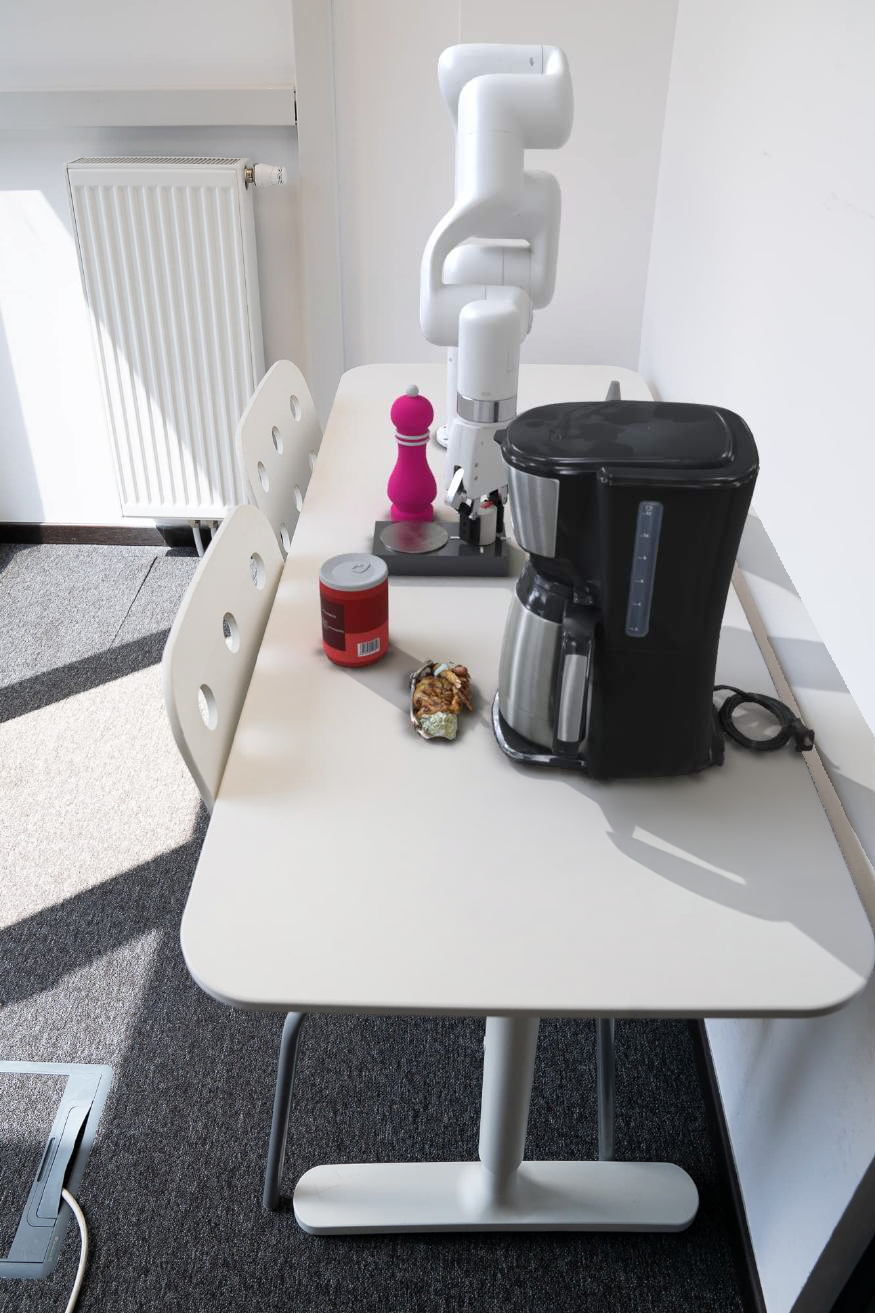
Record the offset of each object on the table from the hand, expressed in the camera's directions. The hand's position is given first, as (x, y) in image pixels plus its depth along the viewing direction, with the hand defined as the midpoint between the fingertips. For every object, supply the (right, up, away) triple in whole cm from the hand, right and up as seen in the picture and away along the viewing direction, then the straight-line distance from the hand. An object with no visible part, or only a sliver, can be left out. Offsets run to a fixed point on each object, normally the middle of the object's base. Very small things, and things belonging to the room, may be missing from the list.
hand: (481, 534), depth 139 cm
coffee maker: (+15, -26, -31) cm, 43 cm away
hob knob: (0, -1, 0) cm, 1 cm away
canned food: (-15, -16, -17) cm, 28 cm away
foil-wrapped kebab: (-5, -22, -26) cm, 35 cm away
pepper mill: (-10, +4, +12) cm, 16 cm away
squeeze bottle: (+19, +8, +19) cm, 28 cm away
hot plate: (-6, -3, +2) cm, 7 cm away
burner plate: (-9, 0, 0) cm, 9 cm away
